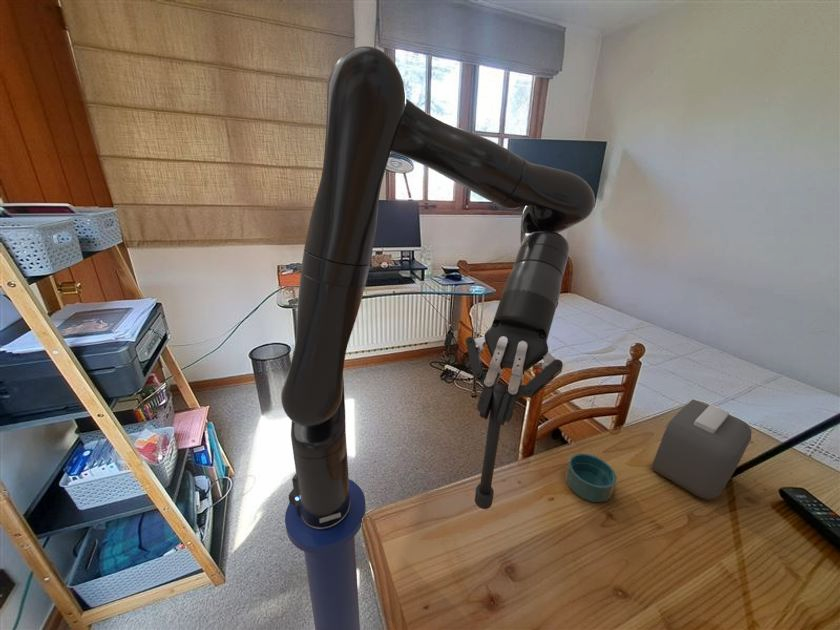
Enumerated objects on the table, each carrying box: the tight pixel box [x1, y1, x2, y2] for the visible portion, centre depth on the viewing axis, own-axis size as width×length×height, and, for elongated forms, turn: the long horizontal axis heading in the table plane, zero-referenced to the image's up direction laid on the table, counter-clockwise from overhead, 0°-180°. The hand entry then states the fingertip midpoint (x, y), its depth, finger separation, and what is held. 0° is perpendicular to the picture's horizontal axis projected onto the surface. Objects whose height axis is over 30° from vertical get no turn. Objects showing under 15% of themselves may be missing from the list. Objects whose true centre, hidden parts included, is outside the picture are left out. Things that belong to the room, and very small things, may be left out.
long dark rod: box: [474, 383, 507, 510], centre depth 47 cm, size 3×3×21 cm
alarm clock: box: [651, 399, 752, 500], centre depth 74 cm, size 16×11×16 cm
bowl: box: [564, 452, 617, 503], centre depth 72 cm, size 9×9×4 cm
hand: (491, 420), depth 43 cm, fingers closed on long dark rod
